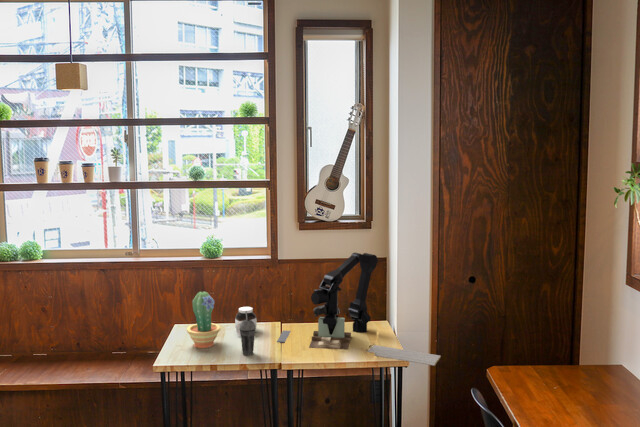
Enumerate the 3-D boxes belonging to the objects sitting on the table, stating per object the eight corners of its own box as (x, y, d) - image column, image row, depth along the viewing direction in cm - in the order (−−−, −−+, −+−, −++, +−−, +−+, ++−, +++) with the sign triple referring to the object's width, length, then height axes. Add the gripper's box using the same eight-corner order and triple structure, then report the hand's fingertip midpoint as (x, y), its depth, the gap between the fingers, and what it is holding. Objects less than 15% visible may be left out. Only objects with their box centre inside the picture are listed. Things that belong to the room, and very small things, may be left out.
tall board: (344, 338, 287) (344, 317, 285) (343, 341, 283) (343, 320, 281) (319, 337, 288) (319, 316, 287) (318, 339, 284) (318, 319, 283)
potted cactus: (187, 351, 270) (185, 297, 267) (186, 340, 285) (185, 288, 282) (222, 348, 274) (221, 295, 271) (219, 337, 289) (218, 286, 286)
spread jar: (252, 327, 304) (252, 305, 303) (261, 334, 295) (261, 311, 293) (229, 331, 298) (229, 308, 297) (238, 338, 289) (238, 314, 287)
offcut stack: (340, 345, 277) (340, 337, 277) (339, 348, 273) (339, 340, 273) (318, 344, 279) (318, 336, 278) (317, 347, 275) (317, 339, 274)
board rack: (351, 338, 289) (351, 332, 289) (348, 351, 272) (348, 345, 271) (313, 336, 291) (313, 330, 291) (308, 349, 274) (308, 343, 273)
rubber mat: (311, 332, 297) (311, 331, 297) (306, 343, 281) (306, 342, 281) (283, 331, 298) (283, 330, 298) (276, 342, 283) (276, 341, 283)
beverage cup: (258, 352, 270) (258, 308, 268) (251, 357, 263) (251, 313, 261) (244, 350, 273) (243, 307, 270) (236, 355, 266) (236, 311, 263)
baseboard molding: (433, 368, 254) (440, 359, 265) (433, 361, 254) (440, 352, 264) (364, 356, 267) (373, 348, 278) (364, 350, 267) (373, 342, 277)
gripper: (317, 295, 293) (317, 326, 295) (311, 305, 275) (311, 338, 277) (339, 295, 292) (339, 327, 294) (336, 306, 273) (336, 339, 275)
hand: (331, 332), depth 285 cm, fingers closed on tall board, 4 cm apart
